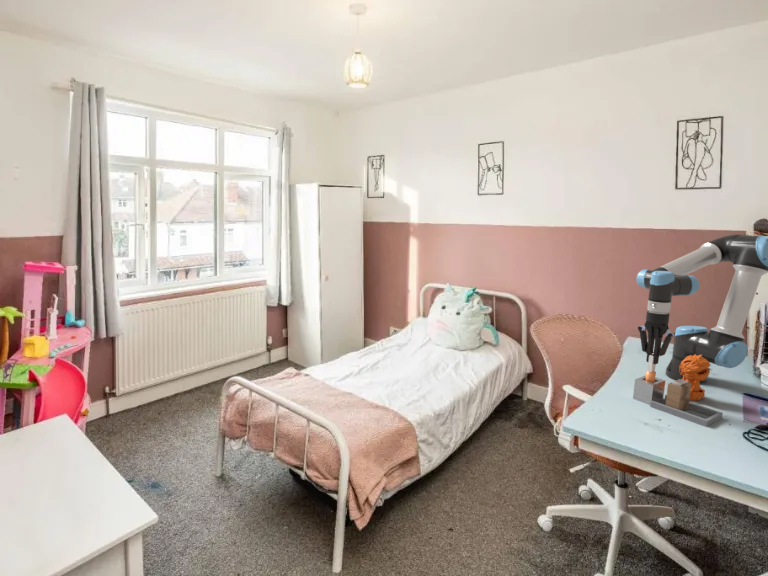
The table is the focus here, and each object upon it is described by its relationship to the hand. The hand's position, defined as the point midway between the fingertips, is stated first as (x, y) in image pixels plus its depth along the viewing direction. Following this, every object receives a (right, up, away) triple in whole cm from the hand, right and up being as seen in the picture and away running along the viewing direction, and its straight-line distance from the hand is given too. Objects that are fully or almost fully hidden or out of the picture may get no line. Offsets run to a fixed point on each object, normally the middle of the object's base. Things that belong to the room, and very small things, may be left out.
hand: (651, 370), depth 180 cm
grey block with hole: (0, -11, +2) cm, 12 cm away
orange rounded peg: (0, -6, +1) cm, 6 cm away
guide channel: (+7, -14, -9) cm, 17 cm away
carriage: (+6, -13, -7) cm, 16 cm away
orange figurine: (+18, -12, +4) cm, 22 cm away
